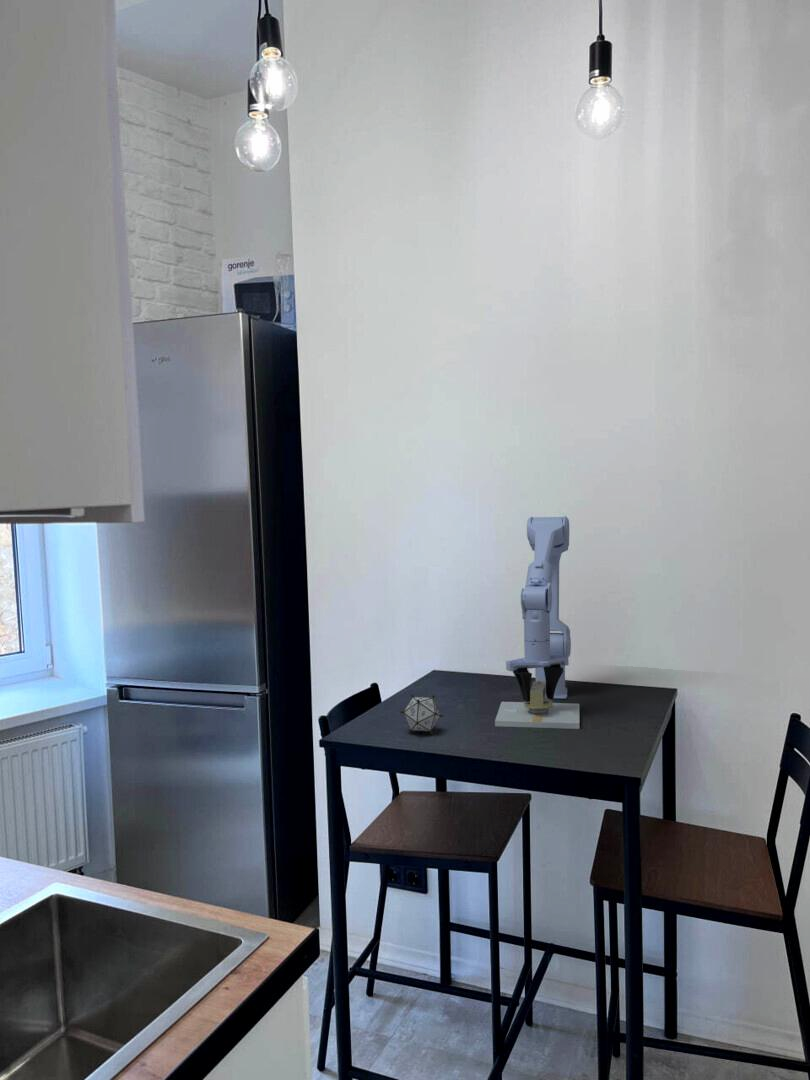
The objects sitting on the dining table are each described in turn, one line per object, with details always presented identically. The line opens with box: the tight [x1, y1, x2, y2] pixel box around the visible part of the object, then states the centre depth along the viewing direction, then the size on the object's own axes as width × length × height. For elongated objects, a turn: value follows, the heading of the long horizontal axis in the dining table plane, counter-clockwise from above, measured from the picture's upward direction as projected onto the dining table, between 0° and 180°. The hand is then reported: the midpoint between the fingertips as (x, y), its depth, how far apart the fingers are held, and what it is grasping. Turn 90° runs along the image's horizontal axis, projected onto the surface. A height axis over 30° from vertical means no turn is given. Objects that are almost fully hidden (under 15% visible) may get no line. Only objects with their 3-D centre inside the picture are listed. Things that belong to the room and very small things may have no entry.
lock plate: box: [494, 701, 581, 730], centre depth 189 cm, size 16×18×2 cm
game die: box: [399, 693, 444, 736], centre depth 180 cm, size 9×8×10 cm
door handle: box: [523, 681, 554, 709], centre depth 189 cm, size 6×9×4 cm
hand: (538, 699), depth 189 cm, fingers closed on door handle, 5 cm apart
